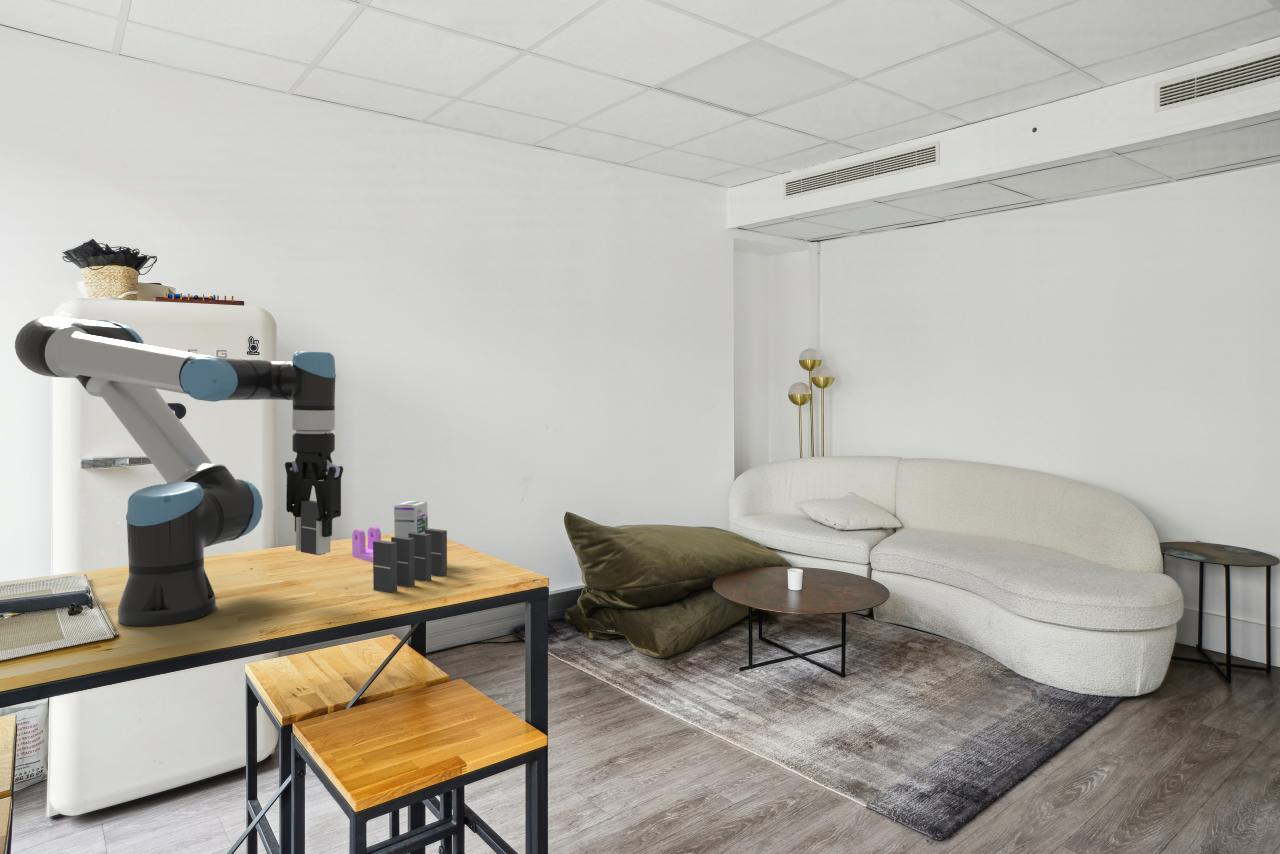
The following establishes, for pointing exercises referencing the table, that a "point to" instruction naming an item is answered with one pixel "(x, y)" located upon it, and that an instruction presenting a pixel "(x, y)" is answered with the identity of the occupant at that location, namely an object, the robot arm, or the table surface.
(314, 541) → the domino
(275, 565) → the table surface
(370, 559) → the bracket
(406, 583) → the domino
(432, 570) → the domino
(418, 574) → the domino
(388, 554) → the domino
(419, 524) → the syrup box
